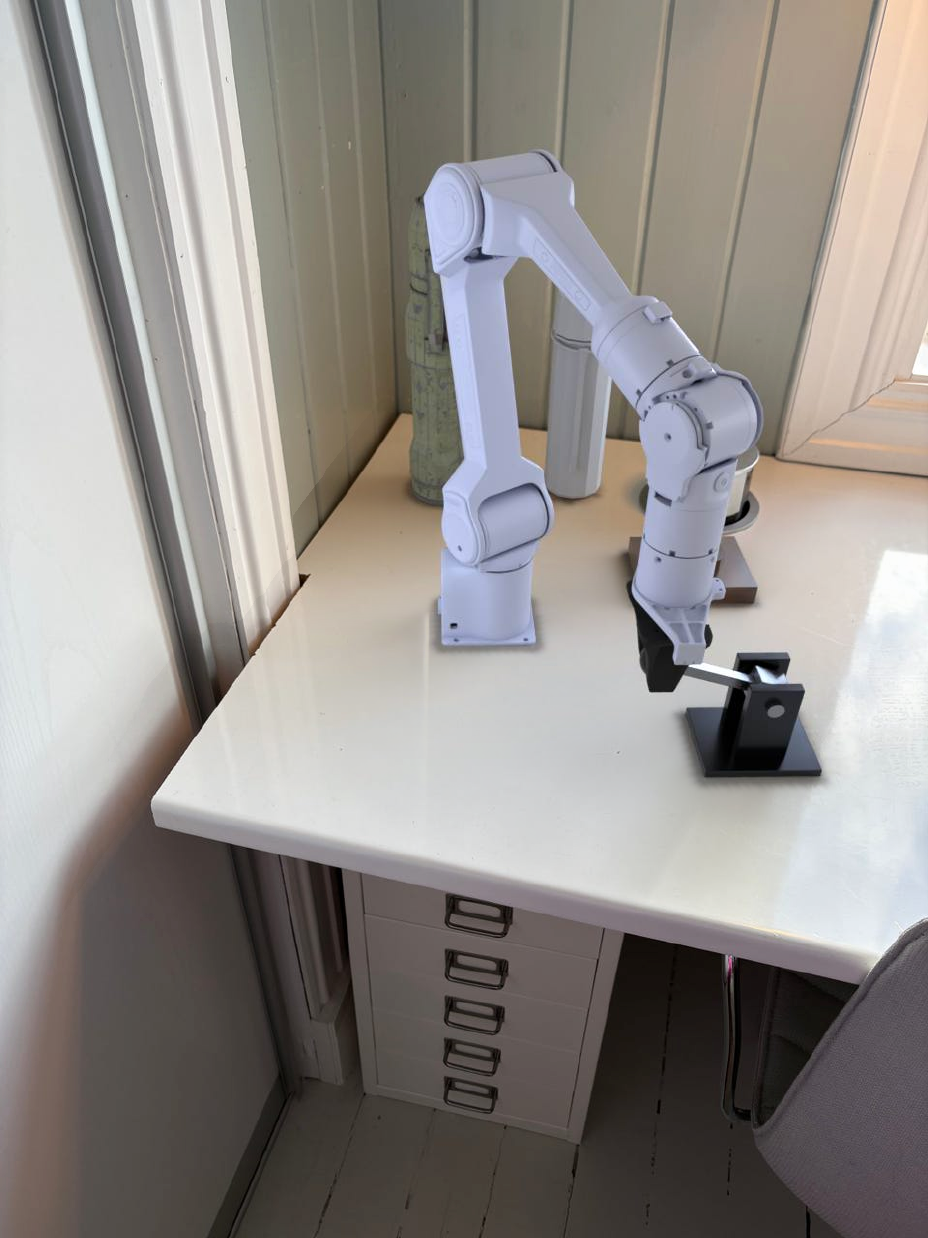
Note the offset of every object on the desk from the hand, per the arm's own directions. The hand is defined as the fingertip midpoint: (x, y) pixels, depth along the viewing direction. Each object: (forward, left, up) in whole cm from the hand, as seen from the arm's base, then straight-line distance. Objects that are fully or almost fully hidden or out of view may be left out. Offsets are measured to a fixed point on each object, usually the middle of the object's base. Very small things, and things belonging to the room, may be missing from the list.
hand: (656, 674), depth 77 cm
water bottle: (-2, +45, -9) cm, 46 cm away
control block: (+9, +26, -8) cm, 29 cm away
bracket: (+9, 0, -8) cm, 13 cm away
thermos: (-18, +46, -9) cm, 50 cm away
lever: (+4, 0, -1) cm, 4 cm away
